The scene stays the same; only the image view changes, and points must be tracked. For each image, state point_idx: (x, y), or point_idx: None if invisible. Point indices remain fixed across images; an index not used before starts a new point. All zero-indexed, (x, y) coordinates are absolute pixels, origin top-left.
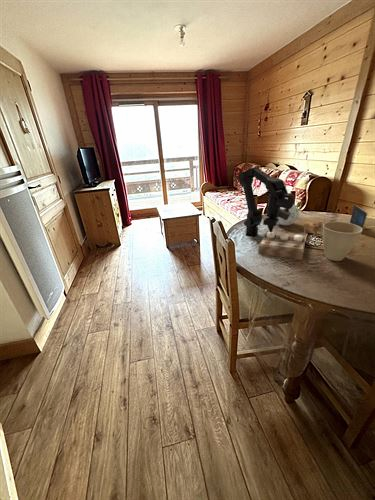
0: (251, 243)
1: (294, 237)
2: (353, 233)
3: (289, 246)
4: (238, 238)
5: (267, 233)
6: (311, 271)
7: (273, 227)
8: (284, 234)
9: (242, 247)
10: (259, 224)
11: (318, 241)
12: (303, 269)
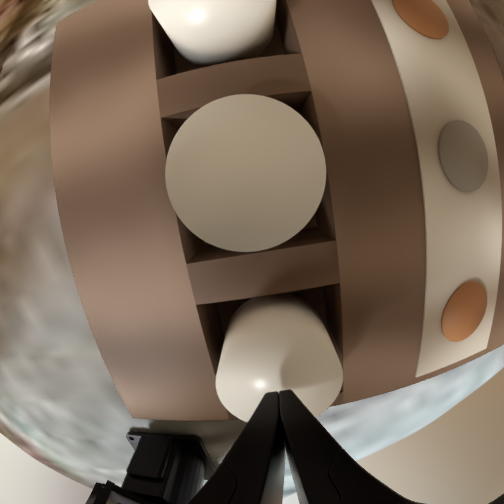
0: (335, 418)
1: (256, 18)
2: None
3: (464, 73)
4: (284, 483)
5: (316, 413)
6: (487, 6)
7: (270, 445)
8: (238, 170)
9: (412, 421)
10: (111, 485)
11: (63, 8)
12: (498, 32)
